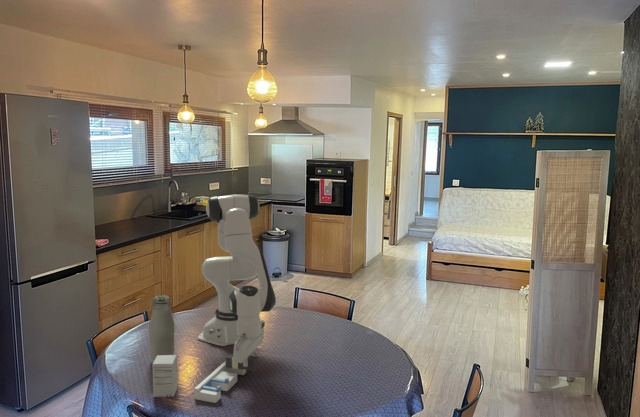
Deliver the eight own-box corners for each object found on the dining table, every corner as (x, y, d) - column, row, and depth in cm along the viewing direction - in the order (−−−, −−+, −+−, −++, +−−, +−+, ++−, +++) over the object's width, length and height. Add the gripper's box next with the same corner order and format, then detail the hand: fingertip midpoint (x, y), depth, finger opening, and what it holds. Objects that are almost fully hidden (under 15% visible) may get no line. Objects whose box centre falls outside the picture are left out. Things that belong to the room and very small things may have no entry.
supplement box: (157, 387, 178) (156, 354, 177) (178, 386, 179) (177, 354, 177) (152, 397, 171) (151, 364, 169) (174, 396, 172) (173, 363, 170)
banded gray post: (225, 367, 186) (225, 357, 185) (230, 363, 189) (229, 353, 189) (254, 370, 182) (253, 360, 182) (258, 366, 186) (257, 356, 186)
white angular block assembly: (194, 399, 170) (194, 386, 170) (226, 369, 193) (226, 358, 192) (215, 403, 168) (215, 390, 167) (246, 372, 191) (245, 361, 190)
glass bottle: (152, 368, 193) (150, 301, 189) (148, 358, 202) (146, 293, 198) (177, 363, 197) (175, 297, 193) (172, 353, 206) (171, 290, 202)
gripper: (244, 341, 172) (244, 377, 174) (266, 320, 191) (266, 352, 194) (228, 339, 174) (229, 374, 176) (252, 318, 193) (252, 350, 195)
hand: (248, 362), depth 185 cm, fingers closed on banded gray post, 4 cm apart
